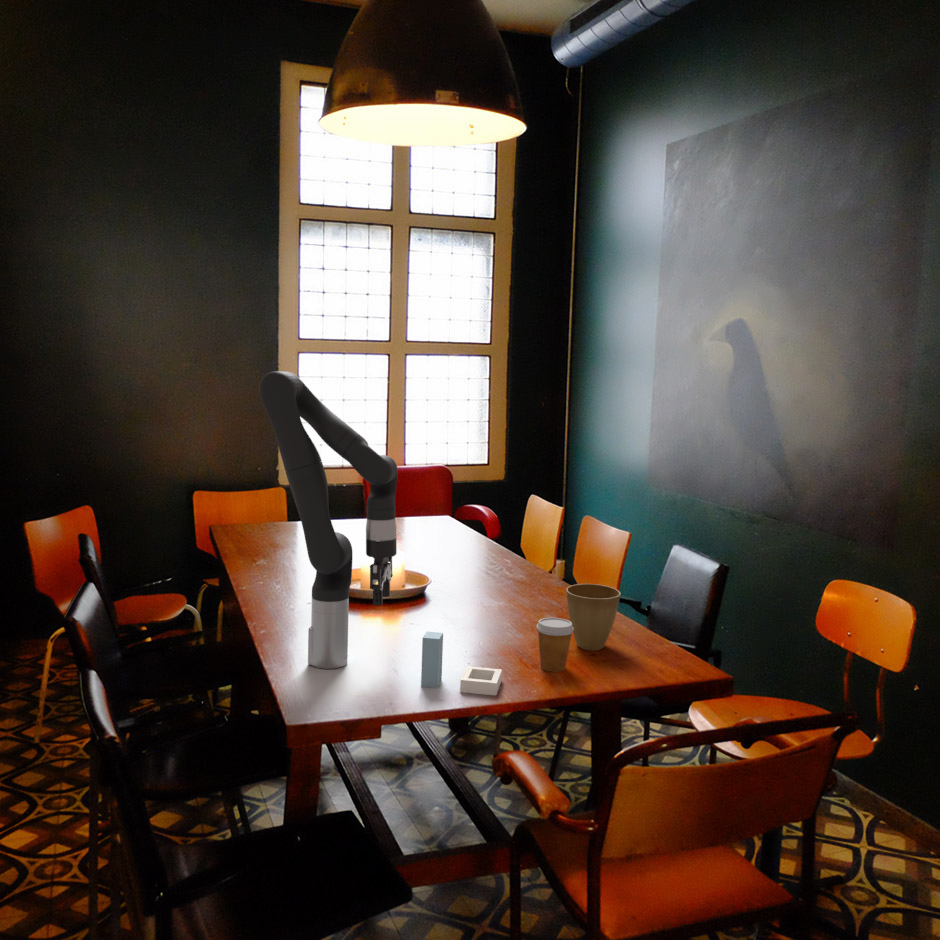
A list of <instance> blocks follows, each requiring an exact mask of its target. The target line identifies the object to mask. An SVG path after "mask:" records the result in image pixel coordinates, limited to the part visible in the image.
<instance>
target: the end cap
mask: <svg viewBox="0 0 940 940" xmlns="http://www.w3.org/2000/svg"><path fill="white" fill-rule="evenodd" d="M502 677H503V669H501V668H490V667H481V666H480V667H478V666H468V665H467V666H466V668H465V670H464V672H463V675H461V678H460V687H459V692H460V693H466V694H477V695H485V696H486V695H487V696H497V695H498V692H499V690H500V687H501V683H502Z"/></svg>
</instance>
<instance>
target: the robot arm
mask: <svg viewBox="0 0 940 940" xmlns="http://www.w3.org/2000/svg"><path fill="white" fill-rule="evenodd" d="M258 388H259V389H258V391H259V392H258V393H259V397H260V400H261V402H262V405H263V407H264V410H265V412H266V414H267V417H268V420H269V422H270V424H271V427H272V429H273V432H274V436H275V438H276V444H277V447H278V450H279V451H278V452H279V453H280V457H281V461H282V464H283V467H284V471H285V475H286V479H287V481H288V484H289V488H290V491H291V493H292V497H293V500H294V503H295V506H296V510H297V513H298V515H299V519H300V522H301V526H302V530H303V534H304V541H305V544H306V550H307V556H308V559H309V562H310V564H311V566H312V567H313V569H314V570H315V571H316V572H315V573H316V574H315V578H314V582H313V585H312V588H311V620H310V621H311V623H310V624H311V626H309V627H308V629H307V630H308V631H307V632H308V637H307V638H308V639H307V665H308V666H312V667H314V668H318V669H324V670H326V669H327V670H329V669H332V670H333V669H338V668H342V667H344V666H346V665H347V664H348V656H349V655H348V653H349V651H348V647H349V613H350V612H349V610H350V609H349V608H350V605H349V602H350V601H349V600H350V599H349V598H350V596H349V595H350V588H351V585H352V579H353V578H352V575H353V547H352V543H351V541H350V540H349V538H348V537H347V536H345V534H343V533H340V532H337V531H335V529H334V526H333V523H332V520H331V515H330V510H329V508H330V507H329V505H330V504H329V486H328V485H329V484H328V479H327V475H326V471H325V467H324V464H323V461H322V458H321V455H320V453H319V451H318V449H317V447H316V445H315V443H314V442H313V441H312V439H311V437H310V436H309V434H308V432H307V431H306V428H305V426H304V424H303V422H302V419H303V420H304V421H305V422H306V423H307V424H308V425H309V426H310V427H311V428H312V429H313V430H314V431H315V432H316V433H317V435H318V436H319V438H320V439H321V440H322V441H323V442H324V443H325V444H326V445H327V447H329V448H330V449H331V450H333V451H334V452H335V453H336V454H338V455H339V456H340V457H342V459H343V460H345V461H347V462H348V463H349V464H350V466H351V467H352V468H353V469H354V470H355V471H356V472H357V473H358V474H359V475H360V476H361V478H363V479H364V480H365V481H366V482H368V483H369V484H370V486H369V488H370V489H369V491H370V493H369V495H368V498H367V501H366V524H365V554H366V556H367V557H369V558H373V563H371V564H370V565H369V589H370V590H372V605H373V606H382V605H383V598H389V597H390V596H391V584H390V583H391V581H392V578H393V557H395V556H396V555H397V553H398V552H397V551H398V550H397V548H398V547H397V522H396V494H397V493H396V492H397V485H398V466H397V463H396V461H395V460H394V458H392V457H391V456H389V455H386V454H385V455H384V454H383V455H380V454H378V453H377V452H376V451H375V450H374V449H373V448H371V447H370V446H369V443H368V441H367V440H366V438H364V436H362V435H361V434H360V433H358V432H357V431H356V430H355V429H353V428H352V427H351V426H349V425H348V424H347V423H346V422H344V421H343V420H342V419H341V417H338V416H337V415H336V414H335V413H334V412H332V410H330V409H329V408H328V407H327V406H326V405H325V404H323V402H322V401H320V400H319V398H318V397H317V396H316V395H315V394H314V393H313V392H312V391H311V390H310V388H308V386H307V385H306V384H305V383H304V382H303V380H301V379H300V377H299V376H297V375H296V374H295V373H293V372H291V371H286V370H283V371H282V370H281V371H278V370H277V371H276V370H275V371H270V372H268V373H266V374H265V375H264V376H263V377H262V378H261V380H260V382H259V386H258Z"/></svg>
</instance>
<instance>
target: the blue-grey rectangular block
mask: <svg viewBox="0 0 940 940" xmlns="http://www.w3.org/2000/svg"><path fill="white" fill-rule="evenodd" d="M421 644H422V648H421V677H420V679H421V680H420V687H421V688H422V687H423V688H424V687H425V688H433V689H435V688H436V689H439V686H440V684H441V683H442V679H443V677H442V676H443V649H444V648H443V647H444V645H443V644H444V633H443V632H439V631H426V632H425V633H424V635H423V637H422V642H421Z"/></svg>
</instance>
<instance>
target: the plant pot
mask: <svg viewBox="0 0 940 940" xmlns="http://www.w3.org/2000/svg"><path fill="white" fill-rule="evenodd" d="M565 592H566V601H567V603H566V604H567V610H568V616H569V621H571V622H572V626H573V628H574V630H573V632H572V634H573V637H574V640H575V642H576V646H577V647H578V648H579V647H580V649H581V648H582V650H585V649H586V650H585V651H599V650H600V649H601V650H602V648H603V649H604V648H605V645H606V643H607V641H608V639H609V636H610V633H611V632H612V628H613V625H614V623H615V619H616V616H617V612H618V607H619V603H620V599H621V592H620V591H619V590H618V589H616V588H615V587H611V586H608V585H603V584H598V583H596V584H595V583H578V584H573V585H570V586H567V587H566V591H565Z"/></svg>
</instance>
